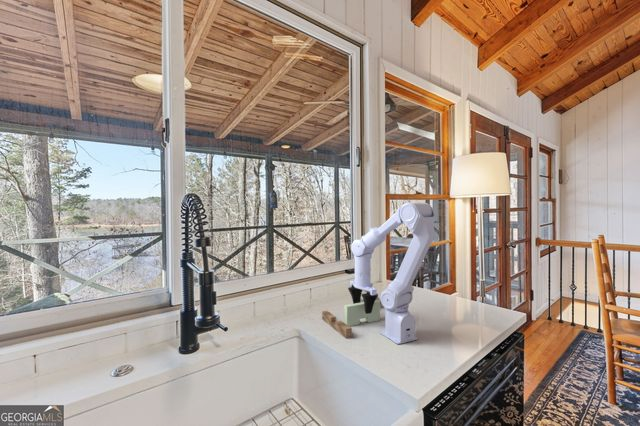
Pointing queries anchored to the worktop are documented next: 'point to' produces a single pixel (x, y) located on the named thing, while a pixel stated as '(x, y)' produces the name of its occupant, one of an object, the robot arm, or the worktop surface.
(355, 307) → the long pale green beam
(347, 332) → the walnut board
